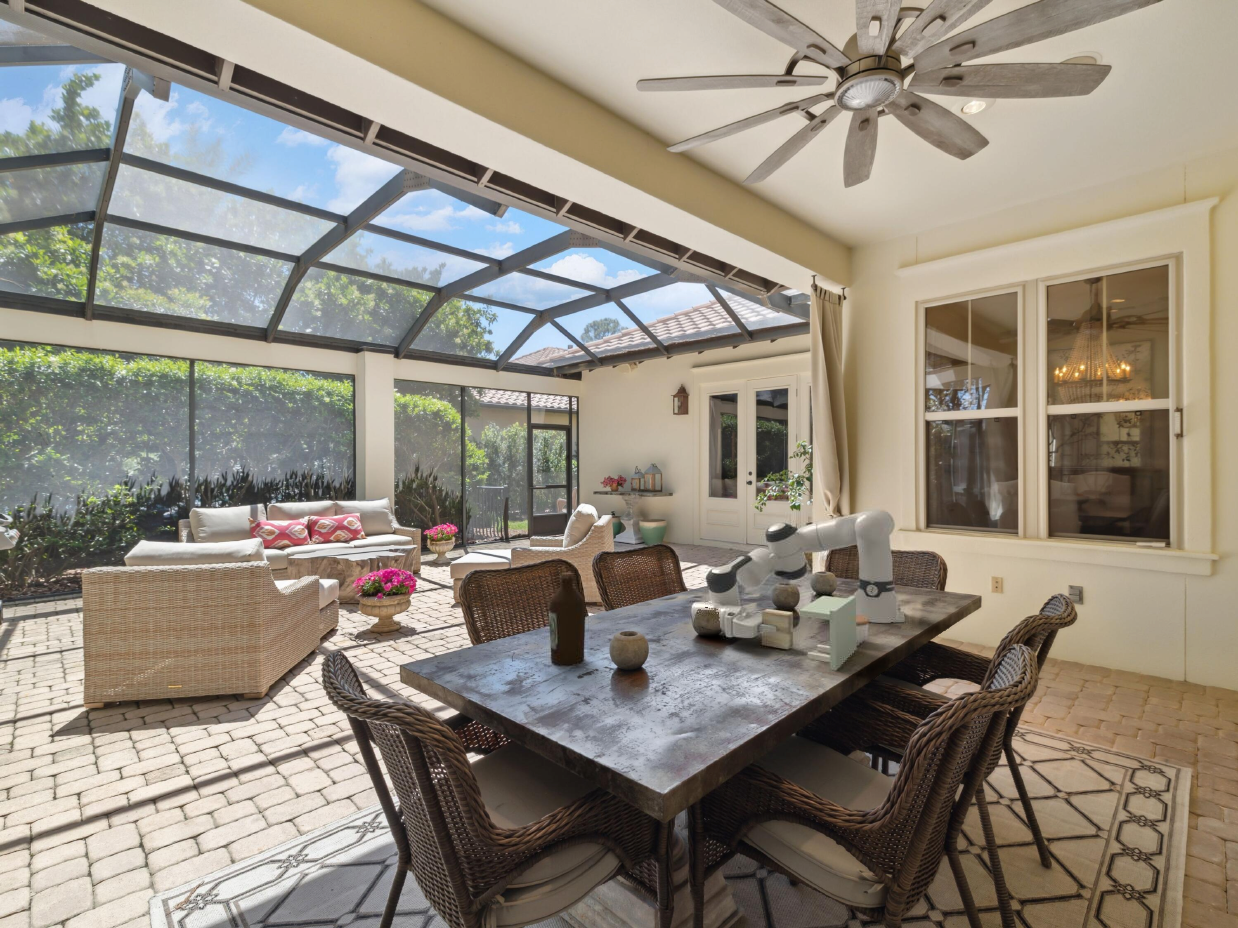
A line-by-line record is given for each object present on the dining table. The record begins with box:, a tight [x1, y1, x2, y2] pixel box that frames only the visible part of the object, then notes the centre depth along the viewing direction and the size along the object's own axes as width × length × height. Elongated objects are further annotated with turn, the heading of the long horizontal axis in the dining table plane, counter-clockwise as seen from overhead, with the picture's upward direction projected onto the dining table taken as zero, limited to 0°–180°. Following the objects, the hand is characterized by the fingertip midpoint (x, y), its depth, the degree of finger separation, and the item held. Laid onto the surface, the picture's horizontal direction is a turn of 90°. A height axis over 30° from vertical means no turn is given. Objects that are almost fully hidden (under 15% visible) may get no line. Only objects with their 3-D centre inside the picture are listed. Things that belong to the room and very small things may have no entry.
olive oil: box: [548, 571, 587, 667], centre depth 170 cm, size 11×11×25 cm
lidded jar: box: [856, 615, 870, 646], centre depth 185 cm, size 11×11×9 cm
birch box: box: [761, 608, 794, 650], centre depth 181 cm, size 4×8×10 cm, turn 55°
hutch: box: [798, 595, 858, 671], centre depth 172 cm, size 22×10×16 cm, turn 145°
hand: (780, 627), depth 180 cm, fingers closed on birch box, 4 cm apart
